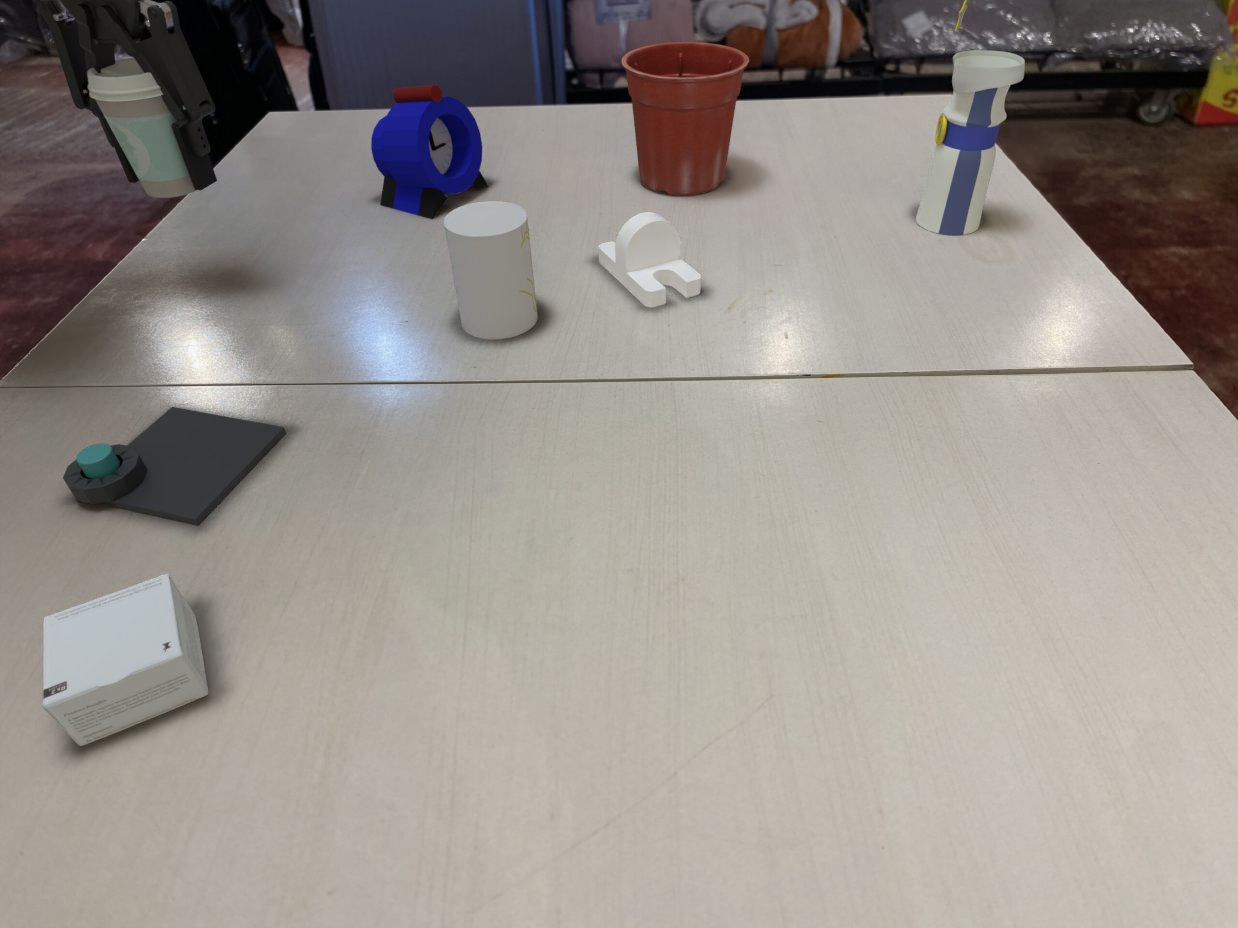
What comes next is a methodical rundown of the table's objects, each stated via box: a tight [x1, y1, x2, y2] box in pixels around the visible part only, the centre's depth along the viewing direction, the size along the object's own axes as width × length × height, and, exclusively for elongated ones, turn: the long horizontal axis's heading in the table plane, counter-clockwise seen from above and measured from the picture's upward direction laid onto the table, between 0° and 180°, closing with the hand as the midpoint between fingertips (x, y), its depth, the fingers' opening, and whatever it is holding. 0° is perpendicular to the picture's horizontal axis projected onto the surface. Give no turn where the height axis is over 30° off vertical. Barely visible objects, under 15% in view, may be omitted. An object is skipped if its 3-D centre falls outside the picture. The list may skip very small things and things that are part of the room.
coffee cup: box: [87, 57, 198, 199], centre depth 82 cm, size 8×8×12 cm
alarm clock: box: [370, 84, 490, 220], centre depth 108 cm, size 12×12×15 cm
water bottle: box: [915, 0, 1026, 236], centre depth 94 cm, size 8×9×25 cm
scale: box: [62, 406, 287, 526], centre depth 68 cm, size 13×13×3 cm
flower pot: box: [621, 41, 750, 197], centre depth 110 cm, size 16×16×16 cm
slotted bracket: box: [597, 211, 702, 308], centre depth 90 cm, size 13×7×8 cm, turn 27°
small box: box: [41, 572, 209, 747], centre depth 52 cm, size 8×8×5 cm
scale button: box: [75, 442, 120, 479], centre depth 65 cm, size 3×3×2 cm
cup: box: [443, 200, 539, 340], centre depth 83 cm, size 8×8×12 cm
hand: (173, 181), depth 86 cm, fingers closed on coffee cup, 8 cm apart
